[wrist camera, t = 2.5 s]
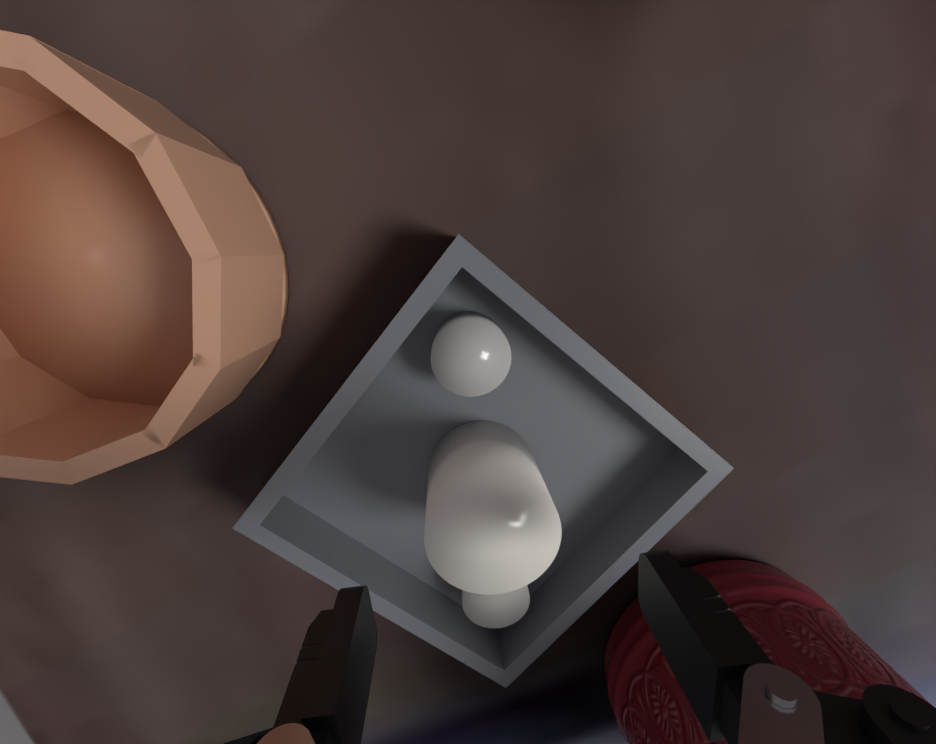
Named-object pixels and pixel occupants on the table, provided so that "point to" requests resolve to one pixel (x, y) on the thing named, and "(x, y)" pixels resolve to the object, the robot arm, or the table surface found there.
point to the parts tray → (439, 411)
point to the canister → (771, 625)
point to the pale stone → (488, 511)
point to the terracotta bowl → (119, 271)
